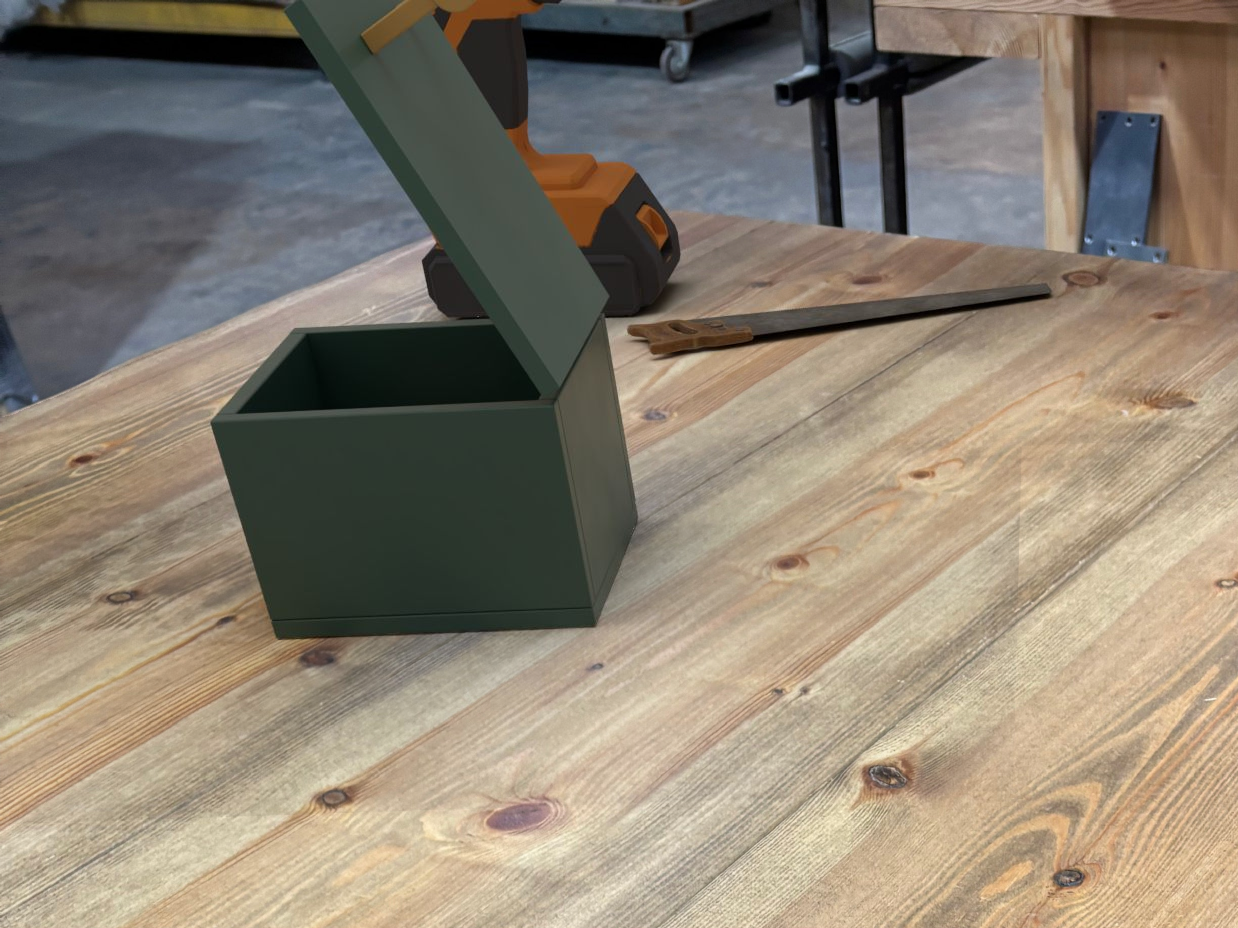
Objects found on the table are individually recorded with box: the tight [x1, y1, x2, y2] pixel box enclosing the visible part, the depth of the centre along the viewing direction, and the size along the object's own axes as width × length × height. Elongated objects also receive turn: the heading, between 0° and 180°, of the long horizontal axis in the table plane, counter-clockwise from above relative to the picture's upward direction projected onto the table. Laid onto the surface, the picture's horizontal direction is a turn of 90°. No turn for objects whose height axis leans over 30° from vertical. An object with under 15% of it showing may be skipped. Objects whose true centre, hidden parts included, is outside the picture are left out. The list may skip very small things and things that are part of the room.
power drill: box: [421, 0, 682, 319], centre depth 106 cm, size 22×7×25 cm, turn 85°
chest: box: [209, 313, 639, 639], centre depth 82 cm, size 14×12×9 cm
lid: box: [282, 0, 609, 398], centre depth 74 cm, size 14×12×6 cm
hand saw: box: [626, 282, 1053, 356], centre depth 110 cm, size 24×5×1 cm, turn 108°
